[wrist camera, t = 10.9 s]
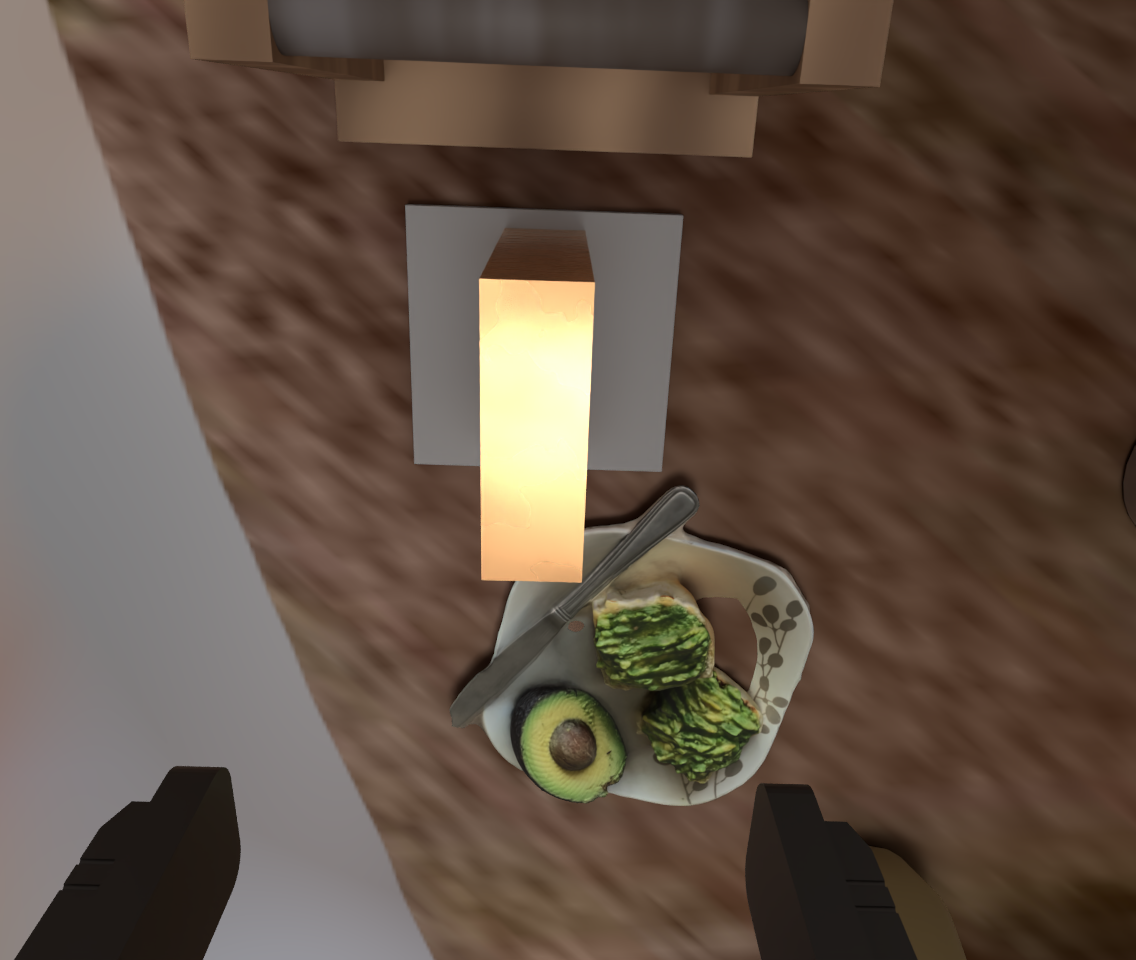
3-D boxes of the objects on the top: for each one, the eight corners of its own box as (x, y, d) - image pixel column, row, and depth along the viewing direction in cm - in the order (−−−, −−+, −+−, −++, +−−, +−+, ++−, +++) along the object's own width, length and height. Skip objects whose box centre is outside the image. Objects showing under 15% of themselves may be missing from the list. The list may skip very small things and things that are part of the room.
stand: (765, -33, 34) (916, -140, 20) (744, 155, 37) (863, 184, 22) (335, -51, 34) (162, -174, 19) (346, 140, 37) (202, 159, 22)
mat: (681, 214, 38) (683, 215, 38) (660, 467, 43) (661, 471, 42) (407, 203, 38) (405, 205, 37) (416, 459, 43) (414, 463, 42)
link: (585, 230, 38) (594, 282, 26) (576, 453, 42) (581, 582, 30) (504, 227, 38) (479, 278, 26) (504, 451, 42) (481, 580, 30)
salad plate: (526, 431, 42) (522, 467, 38) (863, 522, 45) (895, 565, 40) (439, 737, 50) (427, 796, 45) (732, 803, 52) (747, 865, 48)
